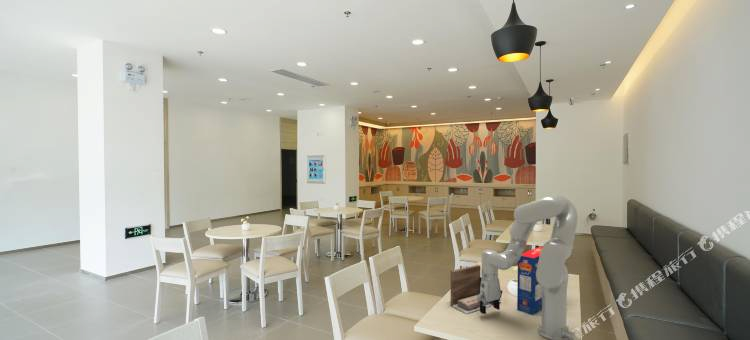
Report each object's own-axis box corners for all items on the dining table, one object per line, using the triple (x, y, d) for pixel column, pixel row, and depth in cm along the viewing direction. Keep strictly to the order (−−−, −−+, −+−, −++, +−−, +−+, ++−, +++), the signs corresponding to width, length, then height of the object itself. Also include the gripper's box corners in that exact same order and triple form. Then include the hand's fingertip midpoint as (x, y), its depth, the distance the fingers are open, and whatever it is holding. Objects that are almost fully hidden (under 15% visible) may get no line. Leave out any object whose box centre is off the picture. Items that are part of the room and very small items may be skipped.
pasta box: (541, 296, 198) (542, 246, 197) (556, 300, 192) (557, 248, 191) (517, 310, 179) (517, 254, 178) (533, 315, 173) (533, 258, 173)
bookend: (501, 303, 188) (501, 280, 187) (493, 305, 185) (494, 282, 184) (485, 297, 196) (486, 275, 196) (478, 299, 193) (479, 277, 193)
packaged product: (476, 292, 192) (491, 298, 184) (476, 300, 192) (491, 307, 184) (452, 298, 182) (467, 305, 174) (452, 308, 182) (467, 315, 174)
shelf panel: (480, 298, 194) (480, 265, 193) (453, 306, 183) (453, 271, 182) (477, 297, 195) (477, 264, 195) (450, 305, 185) (450, 270, 184)
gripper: (483, 281, 165) (483, 317, 166) (507, 274, 174) (507, 309, 175) (471, 276, 172) (471, 312, 172) (495, 270, 181) (495, 304, 181)
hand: (489, 310), depth 173 cm, fingers open, 9 cm apart
